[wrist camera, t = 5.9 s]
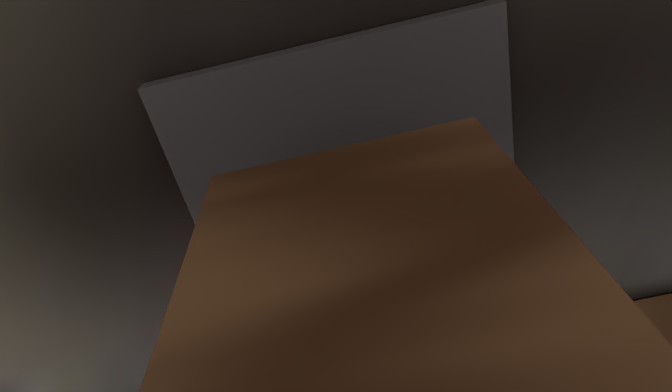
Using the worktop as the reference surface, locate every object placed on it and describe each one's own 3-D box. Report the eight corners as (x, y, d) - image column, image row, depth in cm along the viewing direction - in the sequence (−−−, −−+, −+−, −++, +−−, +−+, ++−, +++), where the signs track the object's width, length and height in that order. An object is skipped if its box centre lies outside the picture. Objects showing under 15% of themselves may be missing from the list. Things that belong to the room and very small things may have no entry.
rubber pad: (499, -2, 10) (506, 1, 9) (514, 282, 13) (520, 292, 13) (142, 82, 10) (137, 88, 10) (249, 338, 13) (248, 349, 13)
